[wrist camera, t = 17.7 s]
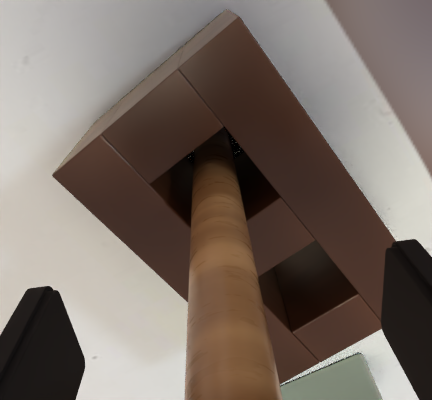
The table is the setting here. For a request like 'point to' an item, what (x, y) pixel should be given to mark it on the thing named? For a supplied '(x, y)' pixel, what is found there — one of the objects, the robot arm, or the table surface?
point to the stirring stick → (224, 289)
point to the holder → (249, 187)
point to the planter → (335, 383)
